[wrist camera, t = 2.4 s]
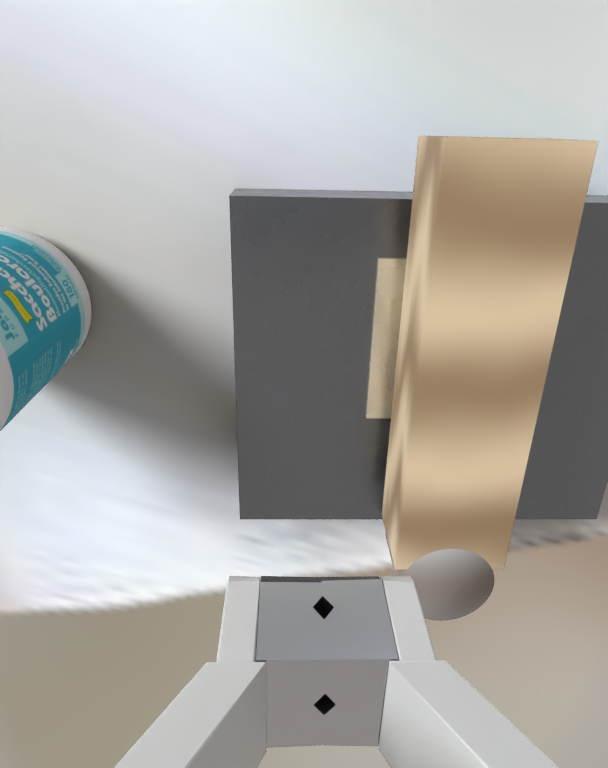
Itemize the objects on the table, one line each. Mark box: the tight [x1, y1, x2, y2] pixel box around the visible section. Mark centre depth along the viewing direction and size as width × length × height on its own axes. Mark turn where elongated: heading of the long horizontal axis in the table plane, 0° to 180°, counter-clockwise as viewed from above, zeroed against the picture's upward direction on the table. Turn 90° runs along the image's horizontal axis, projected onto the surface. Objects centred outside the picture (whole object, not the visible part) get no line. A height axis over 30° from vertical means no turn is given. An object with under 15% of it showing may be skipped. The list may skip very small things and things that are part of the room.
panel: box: [229, 189, 608, 519], centre depth 29 cm, size 20×18×4 cm
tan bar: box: [382, 136, 598, 621], centre depth 24 cm, size 21×5×4 cm, turn 179°
